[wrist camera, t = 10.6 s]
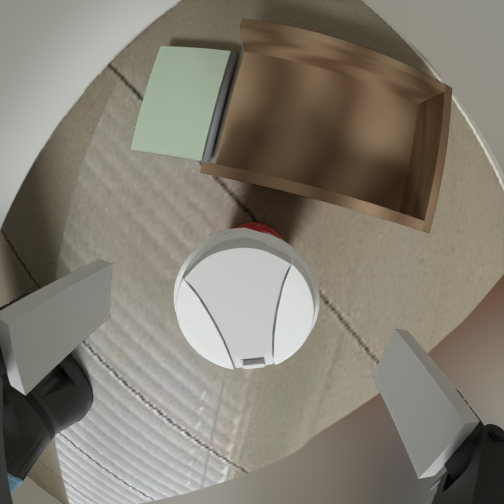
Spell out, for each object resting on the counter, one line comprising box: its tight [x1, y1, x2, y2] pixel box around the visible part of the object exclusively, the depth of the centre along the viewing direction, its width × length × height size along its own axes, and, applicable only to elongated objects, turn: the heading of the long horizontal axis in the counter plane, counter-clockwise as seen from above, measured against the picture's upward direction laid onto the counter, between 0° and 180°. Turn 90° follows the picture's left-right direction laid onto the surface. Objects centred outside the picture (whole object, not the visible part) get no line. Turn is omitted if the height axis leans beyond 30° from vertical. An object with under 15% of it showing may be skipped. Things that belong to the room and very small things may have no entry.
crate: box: [200, 18, 452, 233], centre depth 21 cm, size 18×13×6 cm
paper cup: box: [174, 222, 319, 370], centre depth 21 cm, size 8×8×14 cm
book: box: [131, 46, 238, 163], centre depth 24 cm, size 2×11×8 cm
